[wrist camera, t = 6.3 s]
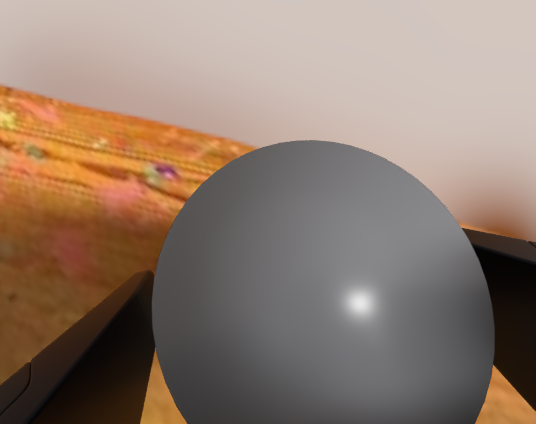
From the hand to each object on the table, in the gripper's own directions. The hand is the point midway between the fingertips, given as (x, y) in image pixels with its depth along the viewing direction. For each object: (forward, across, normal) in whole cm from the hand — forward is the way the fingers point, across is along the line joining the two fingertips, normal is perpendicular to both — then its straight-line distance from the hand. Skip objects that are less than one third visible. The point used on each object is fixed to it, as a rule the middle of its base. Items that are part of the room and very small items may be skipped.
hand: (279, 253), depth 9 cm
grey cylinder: (+4, 0, +6) cm, 7 cm away
